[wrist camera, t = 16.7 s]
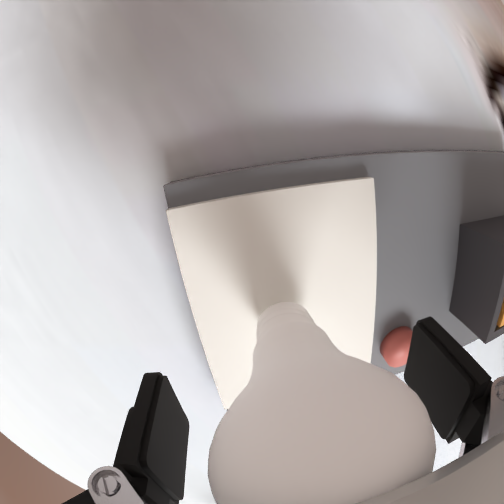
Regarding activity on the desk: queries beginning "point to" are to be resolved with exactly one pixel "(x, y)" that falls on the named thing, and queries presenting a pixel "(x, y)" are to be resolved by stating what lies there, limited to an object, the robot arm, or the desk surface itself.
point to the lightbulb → (316, 423)
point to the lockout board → (342, 252)
